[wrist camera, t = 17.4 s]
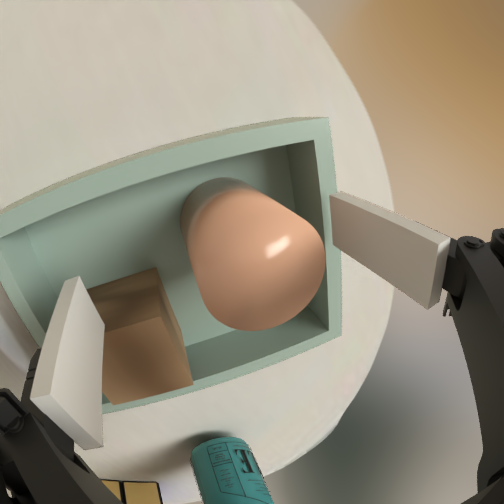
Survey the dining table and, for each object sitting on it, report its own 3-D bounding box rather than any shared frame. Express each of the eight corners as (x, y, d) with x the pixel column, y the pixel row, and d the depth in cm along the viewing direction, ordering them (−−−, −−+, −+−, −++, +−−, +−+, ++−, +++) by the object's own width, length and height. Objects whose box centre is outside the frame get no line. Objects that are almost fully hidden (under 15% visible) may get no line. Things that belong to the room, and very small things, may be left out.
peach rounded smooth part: (192, 269, 18) (218, 346, 12) (169, 190, 15) (182, 234, 9) (269, 246, 19) (327, 306, 13) (256, 168, 16) (321, 196, 10)
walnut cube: (115, 349, 18) (113, 405, 14) (82, 290, 16) (67, 343, 11) (181, 330, 19) (193, 384, 15) (156, 266, 17) (160, 316, 12)
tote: (97, 375, 19) (94, 415, 16) (7, 206, 13) (-24, 227, 9) (314, 305, 23) (341, 335, 19) (292, 117, 16) (328, 117, 13)
